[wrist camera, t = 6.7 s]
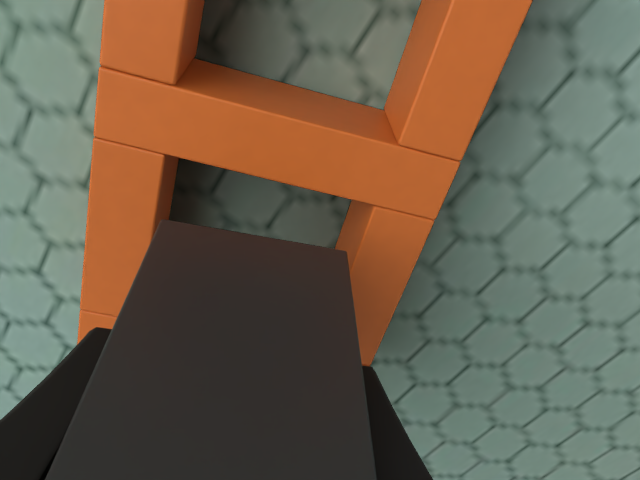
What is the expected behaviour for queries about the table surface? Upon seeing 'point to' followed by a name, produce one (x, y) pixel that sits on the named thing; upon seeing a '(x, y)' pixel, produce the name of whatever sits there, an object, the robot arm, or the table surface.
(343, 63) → the table surface
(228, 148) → the orange two-hole brick
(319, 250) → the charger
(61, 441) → the robot arm
